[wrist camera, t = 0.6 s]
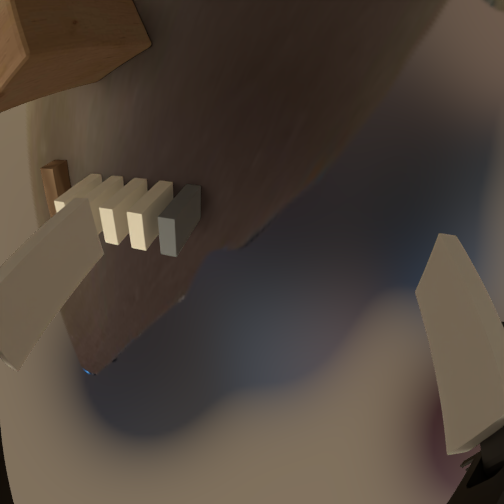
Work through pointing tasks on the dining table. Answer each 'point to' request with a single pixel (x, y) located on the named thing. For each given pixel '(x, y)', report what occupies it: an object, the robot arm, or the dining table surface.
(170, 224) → the domino
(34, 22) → the wooden block
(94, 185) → the domino
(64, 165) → the end block
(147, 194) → the domino
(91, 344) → the dining table surface
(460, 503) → the robot arm
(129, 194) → the domino
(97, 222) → the domino
